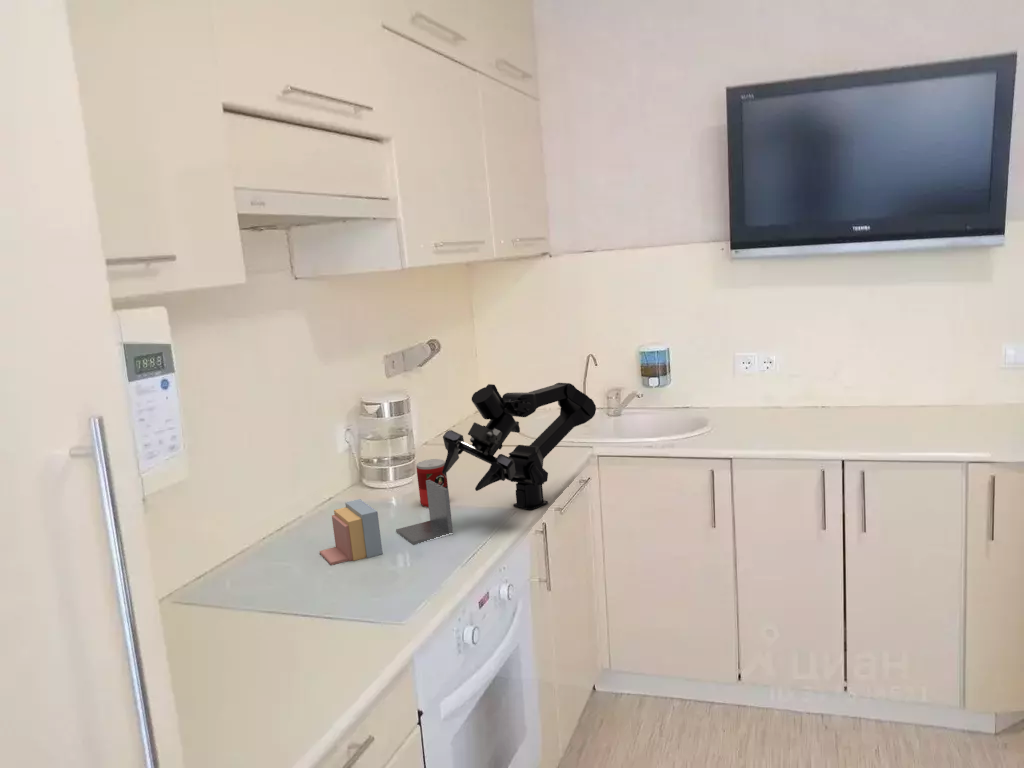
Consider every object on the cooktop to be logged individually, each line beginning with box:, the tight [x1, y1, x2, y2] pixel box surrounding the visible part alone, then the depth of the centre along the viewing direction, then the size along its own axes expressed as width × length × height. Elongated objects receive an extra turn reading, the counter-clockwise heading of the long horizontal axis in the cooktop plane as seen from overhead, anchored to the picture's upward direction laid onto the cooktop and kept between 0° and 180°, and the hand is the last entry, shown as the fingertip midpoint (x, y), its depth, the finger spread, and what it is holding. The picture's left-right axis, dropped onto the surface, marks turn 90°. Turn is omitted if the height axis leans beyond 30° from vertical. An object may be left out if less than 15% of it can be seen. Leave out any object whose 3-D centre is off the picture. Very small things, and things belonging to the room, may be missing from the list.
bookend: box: [395, 480, 454, 546], centre depth 195 cm, size 10×11×11 cm
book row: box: [319, 498, 384, 566], centre depth 187 cm, size 11×12×10 cm
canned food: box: [415, 458, 449, 508], centre depth 218 cm, size 8×8×11 cm
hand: (459, 481), depth 191 cm, fingers open, 9 cm apart
